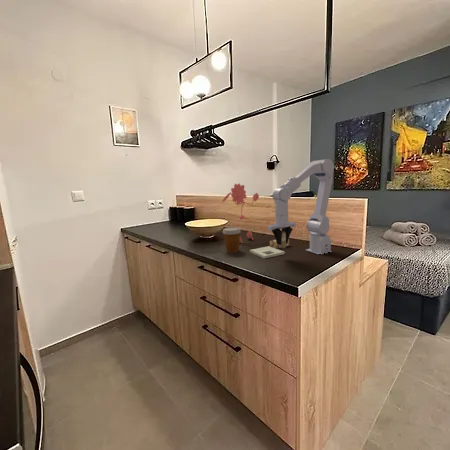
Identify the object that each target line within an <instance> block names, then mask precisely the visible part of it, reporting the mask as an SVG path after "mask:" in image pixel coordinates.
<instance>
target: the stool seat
mask: <svg viewBox="0 0 450 450" xmlns="http://www.w3.org/2000/svg"><path fill="white" fill-rule="evenodd" d="M249 253H250V254H253V255H255V256H257V257H260V258H261V259H268V258H273V257H279V256H281V255H282V256H283V255H285V253H286V252H285V251H284V250H281V249H279V248H273V247H270V245H268V246H263V247H257V248H253V249H249Z"/></svg>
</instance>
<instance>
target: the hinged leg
mask: <svg viewBox="0 0 450 450" xmlns="http://www.w3.org/2000/svg"><path fill="white" fill-rule="evenodd" d="M269 246H270V247H273V248H275V249H280V248H279V245H278V244H277V242H276V239H271V240H269ZM286 247H290V238H289V239H288V243H287V244H286Z"/></svg>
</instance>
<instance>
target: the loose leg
mask: <svg viewBox="0 0 450 450" xmlns="http://www.w3.org/2000/svg"><path fill="white" fill-rule="evenodd" d="M286 248H287V246H286V232H282V237H281V245H279V248H278V249H286Z"/></svg>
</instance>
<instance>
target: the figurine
mask: <svg viewBox="0 0 450 450" xmlns="http://www.w3.org/2000/svg"><path fill="white" fill-rule="evenodd" d="M230 190H231V191H230V192H229V193H228V194H227V195H225V197H224V198H223V199H222V200H221V203H224V202H225V201H226V200H227V199H228V198H229V197H230V195H231V197H232V202H234V203H235V204H236V206H239V205H241V208H240V209H241V210H240V212H241V213H240V215H239V219H238V222H237V228H240V227H239V226H240V225H239V224H240V220H244V219H245V220H247V221H250V219H249V218H246V217H245V216H244V215H243V206H244V205H245V204H247V205H253V203H254V202H257V201H258V200H259V198H260V196H259V194H258V192H256V193H254V194H253V195H252V201H251V203H249V202H245V201H244V199H245V200H247V195H246V190H245V185H244V184H242V185H241V183H234V186H233V187H231V189H230ZM246 237H247V239H250V238H251V239H252V241H254V238H253V231H252V230H251V229H249V230H248V232H247V233H246ZM239 241H240V242H241V244H243V240H242V237H241V236H240V238H239Z"/></svg>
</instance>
